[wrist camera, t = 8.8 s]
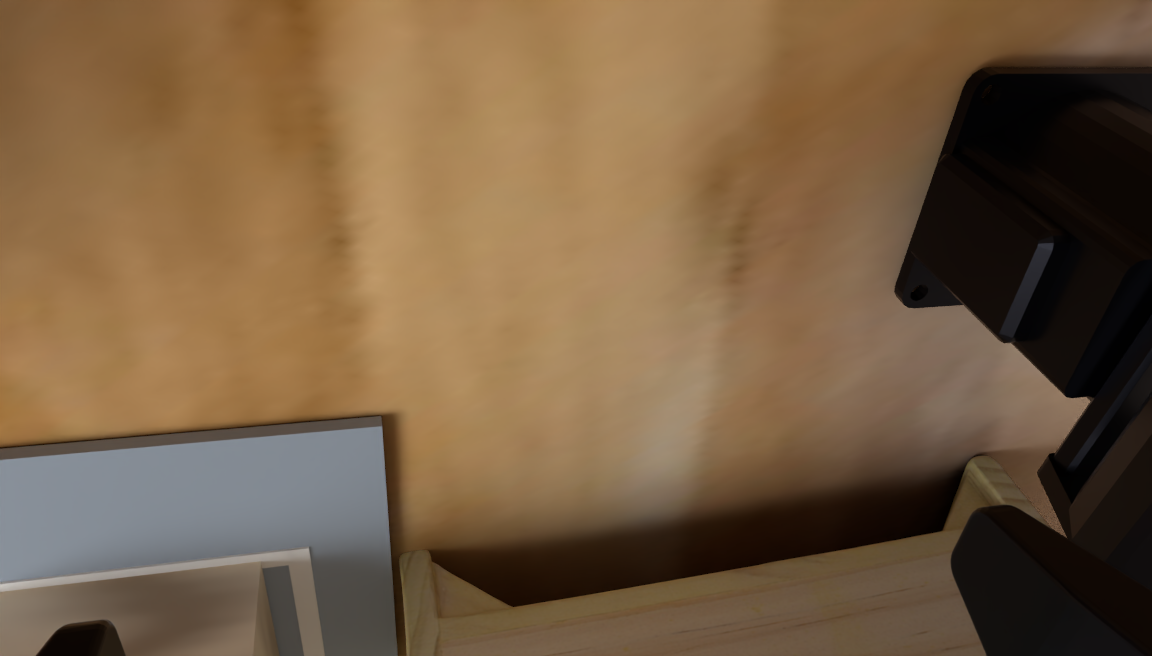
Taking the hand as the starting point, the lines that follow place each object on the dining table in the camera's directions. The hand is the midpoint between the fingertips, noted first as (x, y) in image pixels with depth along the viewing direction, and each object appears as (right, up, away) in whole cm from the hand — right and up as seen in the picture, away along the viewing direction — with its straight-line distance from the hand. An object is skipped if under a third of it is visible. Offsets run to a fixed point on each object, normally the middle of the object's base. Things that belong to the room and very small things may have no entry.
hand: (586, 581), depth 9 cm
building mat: (-12, -6, +16) cm, 21 cm away
